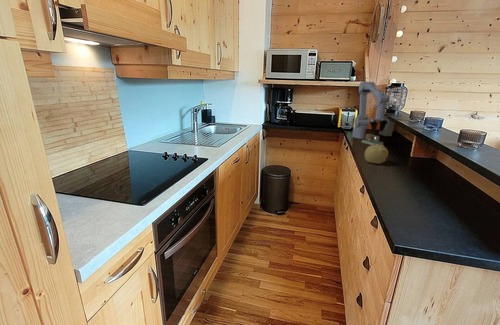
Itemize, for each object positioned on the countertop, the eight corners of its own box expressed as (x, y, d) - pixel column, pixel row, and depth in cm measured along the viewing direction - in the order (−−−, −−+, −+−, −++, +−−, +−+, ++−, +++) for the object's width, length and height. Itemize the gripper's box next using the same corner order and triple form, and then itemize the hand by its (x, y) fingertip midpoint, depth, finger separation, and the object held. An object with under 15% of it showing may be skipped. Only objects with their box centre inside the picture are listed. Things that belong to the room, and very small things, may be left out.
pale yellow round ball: (389, 166, 142) (392, 147, 139) (365, 164, 144) (368, 145, 141) (383, 160, 153) (386, 142, 149) (361, 158, 155) (364, 141, 152)
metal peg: (371, 143, 191) (372, 135, 189) (375, 143, 193) (376, 135, 191) (375, 144, 188) (376, 136, 186) (379, 144, 189) (380, 136, 188)
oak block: (365, 142, 196) (366, 134, 195) (369, 141, 198) (370, 133, 196) (369, 143, 193) (370, 135, 191) (373, 142, 194) (374, 134, 193)
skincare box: (378, 134, 227) (381, 116, 223) (385, 134, 229) (388, 116, 225) (386, 136, 220) (389, 117, 215) (392, 136, 222) (396, 117, 217)
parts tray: (361, 142, 197) (361, 140, 196) (370, 141, 200) (370, 139, 200) (374, 145, 186) (374, 143, 186) (383, 144, 190) (383, 142, 189)
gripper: (377, 113, 177) (374, 132, 181) (392, 112, 183) (389, 131, 187) (369, 112, 183) (366, 131, 188) (384, 111, 189) (381, 129, 193)
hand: (377, 131), depth 188 cm, fingers open, 7 cm apart
